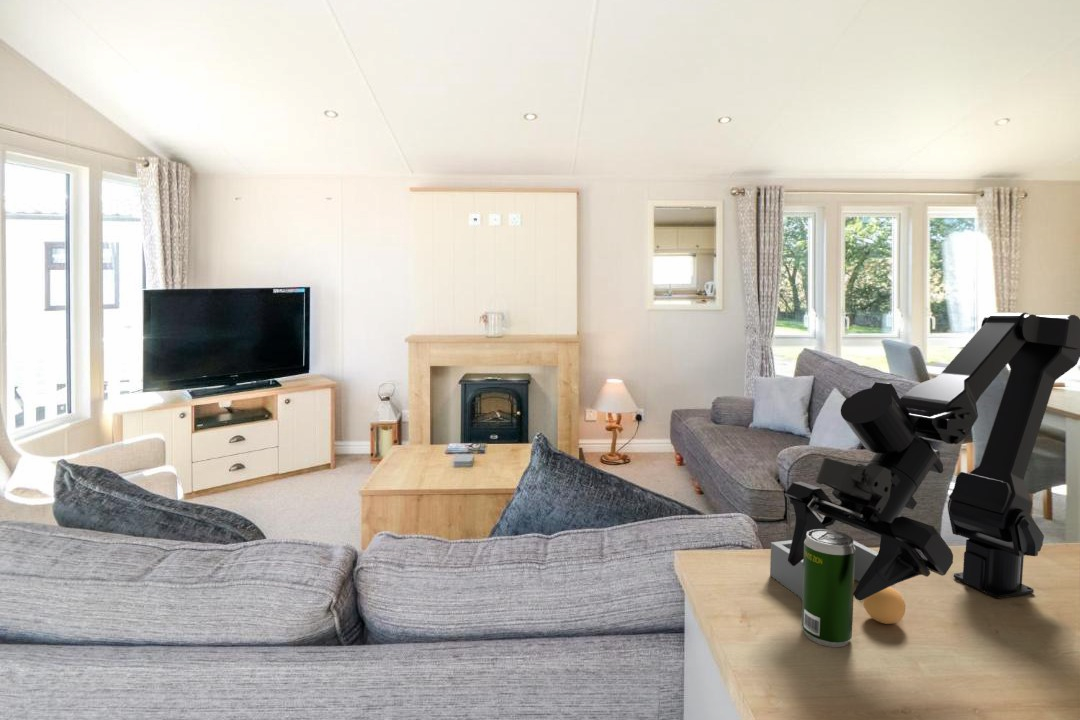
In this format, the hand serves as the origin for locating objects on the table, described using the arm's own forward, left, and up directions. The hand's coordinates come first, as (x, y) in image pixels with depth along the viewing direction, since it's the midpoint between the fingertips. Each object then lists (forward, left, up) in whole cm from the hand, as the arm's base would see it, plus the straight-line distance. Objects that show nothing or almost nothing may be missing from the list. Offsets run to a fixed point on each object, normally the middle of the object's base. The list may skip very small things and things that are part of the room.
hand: (821, 579), depth 66 cm
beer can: (-1, 0, -7) cm, 7 cm away
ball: (-10, -1, -7) cm, 12 cm away
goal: (-10, -11, -7) cm, 16 cm away
